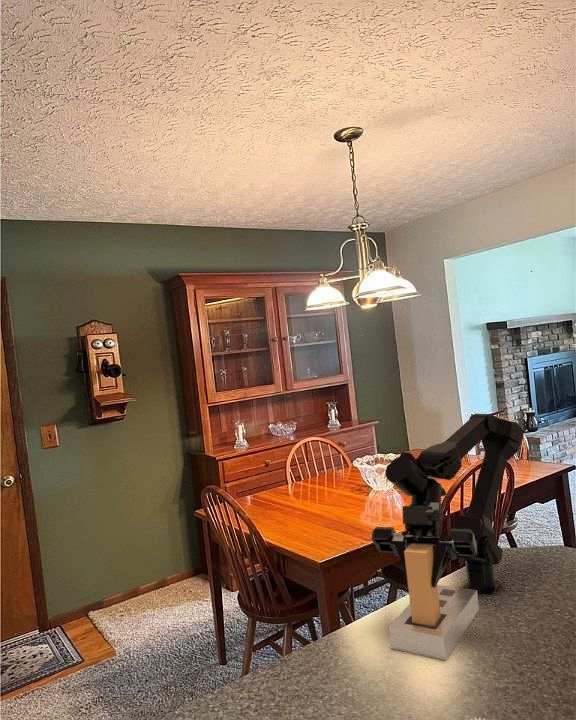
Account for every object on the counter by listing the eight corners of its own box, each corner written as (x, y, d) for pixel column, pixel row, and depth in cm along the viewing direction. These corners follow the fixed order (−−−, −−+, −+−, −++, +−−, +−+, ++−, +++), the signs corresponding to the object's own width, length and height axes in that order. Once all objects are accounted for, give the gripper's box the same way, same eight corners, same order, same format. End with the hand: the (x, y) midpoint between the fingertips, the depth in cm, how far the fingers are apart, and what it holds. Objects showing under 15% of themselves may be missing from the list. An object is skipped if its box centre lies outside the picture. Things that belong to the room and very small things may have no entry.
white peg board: (430, 602, 119) (428, 582, 119) (478, 610, 113) (476, 589, 113) (391, 648, 102) (388, 626, 102) (445, 660, 96) (443, 636, 96)
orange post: (419, 612, 106) (411, 543, 106) (440, 615, 104) (432, 545, 104) (412, 622, 103) (404, 551, 102) (434, 625, 101) (425, 553, 100)
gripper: (368, 486, 111) (358, 563, 101) (468, 485, 103) (467, 569, 93) (383, 514, 118) (374, 589, 108) (477, 515, 110) (477, 596, 100)
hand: (420, 585), depth 102 cm, fingers closed on orange post, 4 cm apart
